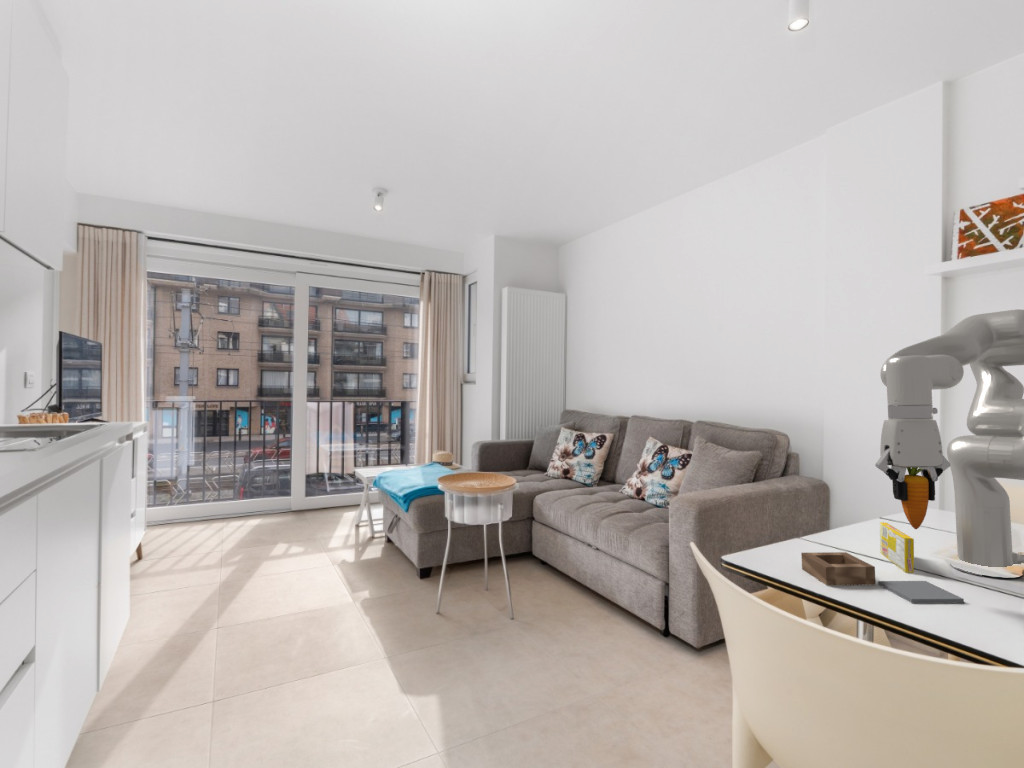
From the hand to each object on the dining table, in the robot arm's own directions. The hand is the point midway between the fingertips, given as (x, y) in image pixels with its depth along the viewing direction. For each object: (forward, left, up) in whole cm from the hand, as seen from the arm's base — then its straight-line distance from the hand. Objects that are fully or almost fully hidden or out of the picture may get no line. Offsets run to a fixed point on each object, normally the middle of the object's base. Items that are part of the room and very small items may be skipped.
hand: (914, 498), depth 106 cm
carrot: (0, 0, -7) cm, 7 cm away
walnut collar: (+11, -10, -20) cm, 25 cm away
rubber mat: (0, 0, -20) cm, 20 cm away
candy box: (-9, -20, -20) cm, 30 cm away
